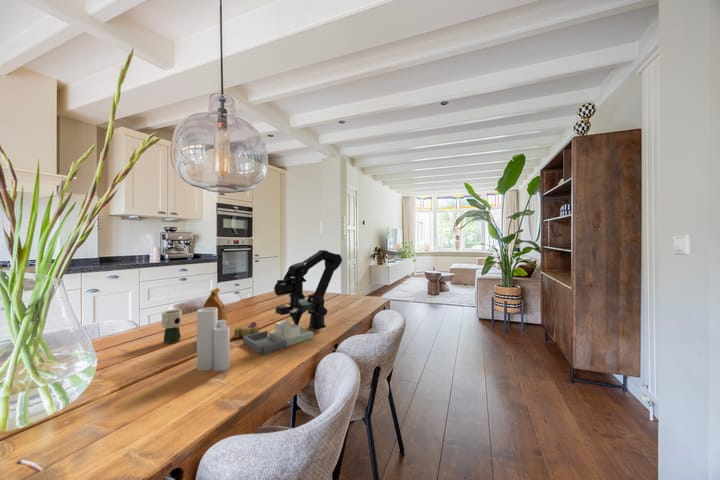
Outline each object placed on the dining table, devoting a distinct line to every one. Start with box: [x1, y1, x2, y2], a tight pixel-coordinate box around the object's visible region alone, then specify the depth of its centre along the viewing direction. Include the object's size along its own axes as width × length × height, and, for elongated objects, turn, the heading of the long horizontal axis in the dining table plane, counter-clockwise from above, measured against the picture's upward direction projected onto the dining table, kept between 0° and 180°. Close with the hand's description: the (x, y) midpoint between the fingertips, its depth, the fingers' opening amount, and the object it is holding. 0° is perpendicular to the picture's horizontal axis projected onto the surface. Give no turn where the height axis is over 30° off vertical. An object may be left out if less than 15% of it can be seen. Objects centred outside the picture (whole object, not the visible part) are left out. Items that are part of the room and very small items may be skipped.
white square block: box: [274, 320, 292, 334], centre depth 131 cm, size 5×5×4 cm
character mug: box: [161, 309, 183, 344], centre depth 126 cm, size 11×7×13 cm, turn 9°
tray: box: [242, 330, 288, 356], centre depth 121 cm, size 11×17×3 cm, turn 44°
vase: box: [196, 307, 231, 372], centre depth 102 cm, size 11×7×20 cm, turn 89°
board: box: [268, 326, 314, 347], centre depth 130 cm, size 14×14×2 cm
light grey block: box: [284, 323, 301, 339], centre depth 126 cm, size 5×5×4 cm
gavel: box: [233, 321, 260, 339], centre depth 140 cm, size 21×5×10 cm
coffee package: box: [202, 287, 227, 324], centre depth 128 cm, size 10×12×22 cm
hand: (296, 325), depth 136 cm, fingers closed
